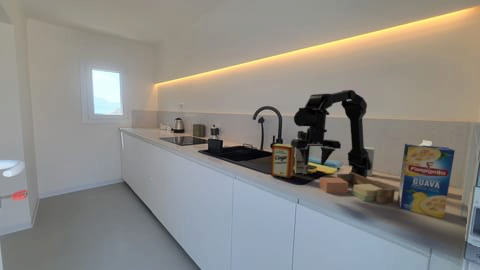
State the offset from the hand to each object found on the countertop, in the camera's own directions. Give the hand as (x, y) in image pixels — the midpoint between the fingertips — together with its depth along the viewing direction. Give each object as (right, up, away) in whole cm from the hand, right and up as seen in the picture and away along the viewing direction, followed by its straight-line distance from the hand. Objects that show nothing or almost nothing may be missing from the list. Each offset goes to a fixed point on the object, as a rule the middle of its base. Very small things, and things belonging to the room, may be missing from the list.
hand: (313, 165), depth 78 cm
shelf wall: (+22, -12, +4) cm, 25 cm away
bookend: (+18, -10, +13) cm, 24 cm away
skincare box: (+38, -10, +29) cm, 49 cm away
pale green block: (+20, -12, -2) cm, 24 cm away
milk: (+50, -12, +8) cm, 52 cm away
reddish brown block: (+10, -11, +4) cm, 16 cm away
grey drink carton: (+4, -8, +28) cm, 30 cm away
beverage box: (+32, -14, -11) cm, 37 cm away
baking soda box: (-8, -9, +21) cm, 24 cm away
